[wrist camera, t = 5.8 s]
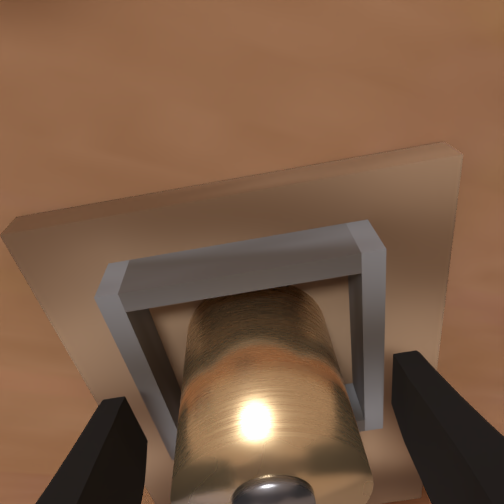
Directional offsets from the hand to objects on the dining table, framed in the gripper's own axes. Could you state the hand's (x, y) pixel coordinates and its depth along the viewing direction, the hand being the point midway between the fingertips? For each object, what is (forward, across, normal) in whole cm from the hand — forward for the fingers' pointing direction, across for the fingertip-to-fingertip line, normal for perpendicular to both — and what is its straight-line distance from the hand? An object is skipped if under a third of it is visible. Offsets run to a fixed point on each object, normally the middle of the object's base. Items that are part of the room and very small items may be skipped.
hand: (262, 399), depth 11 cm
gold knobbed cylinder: (+2, 0, 0) cm, 2 cm away
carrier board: (+3, 0, +4) cm, 5 cm away
